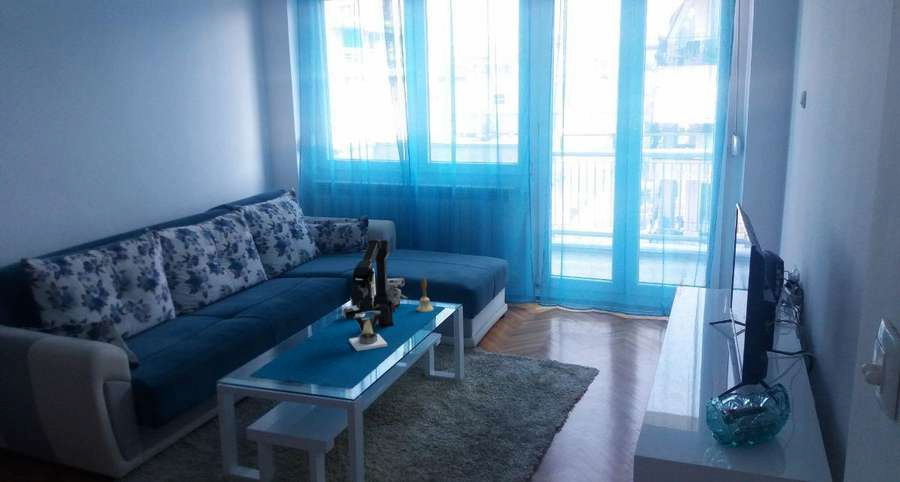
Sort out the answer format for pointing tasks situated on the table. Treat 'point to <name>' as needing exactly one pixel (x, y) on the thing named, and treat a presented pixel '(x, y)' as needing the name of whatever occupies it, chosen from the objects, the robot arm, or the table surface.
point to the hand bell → (424, 299)
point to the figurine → (396, 290)
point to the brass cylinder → (367, 328)
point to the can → (356, 309)
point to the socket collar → (367, 339)
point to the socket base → (367, 346)
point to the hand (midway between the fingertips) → (367, 330)
